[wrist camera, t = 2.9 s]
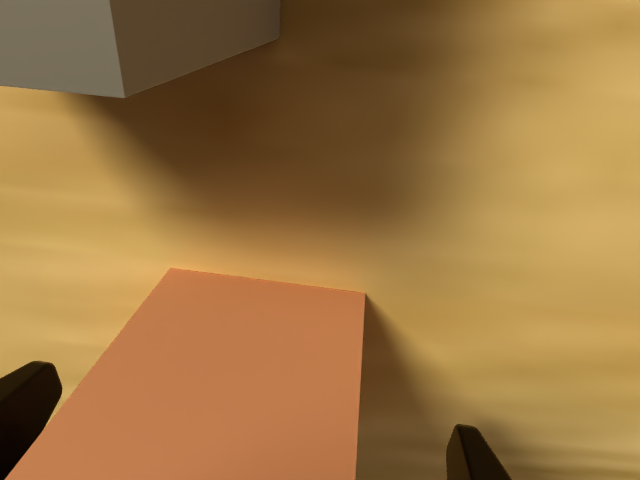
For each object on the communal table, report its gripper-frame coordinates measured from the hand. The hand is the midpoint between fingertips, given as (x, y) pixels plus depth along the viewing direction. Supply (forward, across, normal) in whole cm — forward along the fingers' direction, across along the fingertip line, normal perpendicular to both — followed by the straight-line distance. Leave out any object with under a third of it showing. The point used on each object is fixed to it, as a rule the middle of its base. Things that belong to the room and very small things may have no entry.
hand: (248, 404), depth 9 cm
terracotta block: (+2, 0, 0) cm, 2 cm away
